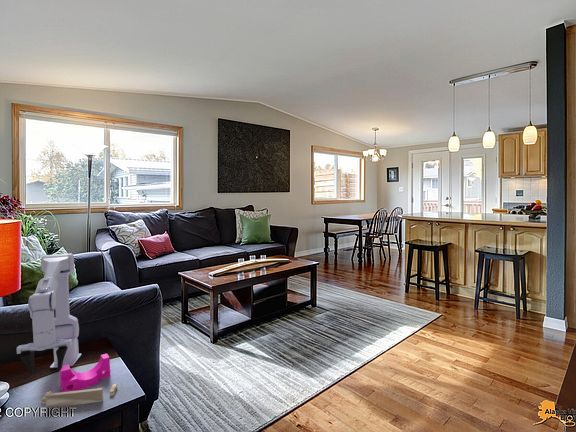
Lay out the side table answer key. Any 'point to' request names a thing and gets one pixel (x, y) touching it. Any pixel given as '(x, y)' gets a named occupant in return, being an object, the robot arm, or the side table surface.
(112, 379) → the side table surface
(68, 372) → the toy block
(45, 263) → the robot arm
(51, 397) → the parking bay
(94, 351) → the side table surface
